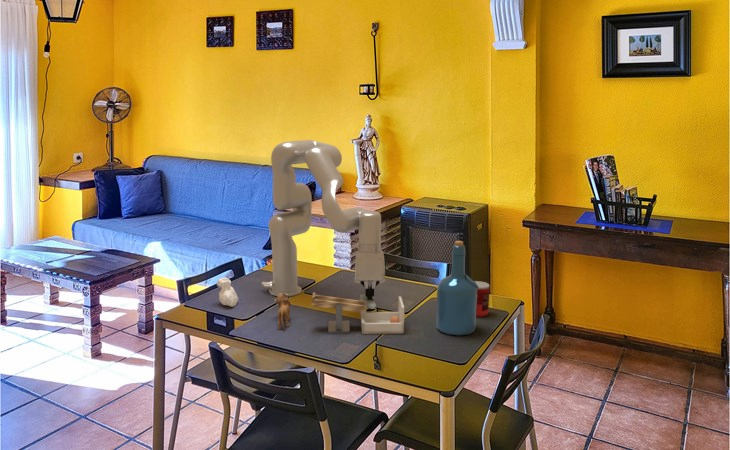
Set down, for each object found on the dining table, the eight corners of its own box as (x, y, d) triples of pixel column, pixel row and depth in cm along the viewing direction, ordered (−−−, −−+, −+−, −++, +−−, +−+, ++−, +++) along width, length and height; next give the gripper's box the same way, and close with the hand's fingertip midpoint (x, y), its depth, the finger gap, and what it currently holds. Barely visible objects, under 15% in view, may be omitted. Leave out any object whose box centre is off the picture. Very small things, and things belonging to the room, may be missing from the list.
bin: (362, 334, 194) (362, 307, 192) (360, 321, 205) (360, 296, 203) (403, 333, 195) (404, 307, 193) (400, 321, 205) (400, 296, 203)
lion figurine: (274, 316, 209) (273, 292, 208) (289, 315, 211) (289, 290, 209) (277, 332, 195) (277, 306, 194) (294, 330, 197) (293, 305, 195)
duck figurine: (229, 304, 228) (209, 282, 225) (244, 291, 228) (225, 270, 225) (227, 315, 216) (206, 292, 213) (243, 302, 216) (223, 279, 213)
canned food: (463, 310, 216) (464, 281, 214) (484, 309, 217) (486, 280, 215) (468, 318, 209) (469, 287, 206) (490, 317, 209) (492, 287, 207)
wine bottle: (439, 337, 192) (442, 246, 186) (432, 322, 205) (435, 236, 199) (481, 336, 193) (485, 246, 186) (472, 321, 206) (475, 236, 199)
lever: (311, 305, 194) (312, 297, 194) (313, 290, 210) (314, 282, 209) (376, 314, 196) (377, 305, 195) (373, 298, 212) (374, 290, 211)
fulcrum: (328, 333, 194) (327, 306, 192) (328, 323, 203) (328, 296, 201) (349, 333, 195) (349, 305, 193) (349, 322, 204) (349, 296, 202)
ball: (401, 319, 198) (398, 328, 198) (400, 316, 201) (397, 324, 201) (392, 316, 197) (388, 325, 198) (391, 313, 200) (388, 321, 201)
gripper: (348, 250, 200) (348, 302, 204) (392, 249, 201) (392, 301, 204) (347, 244, 207) (348, 295, 211) (390, 244, 208) (390, 294, 212)
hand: (369, 298), depth 208 cm, fingers closed
